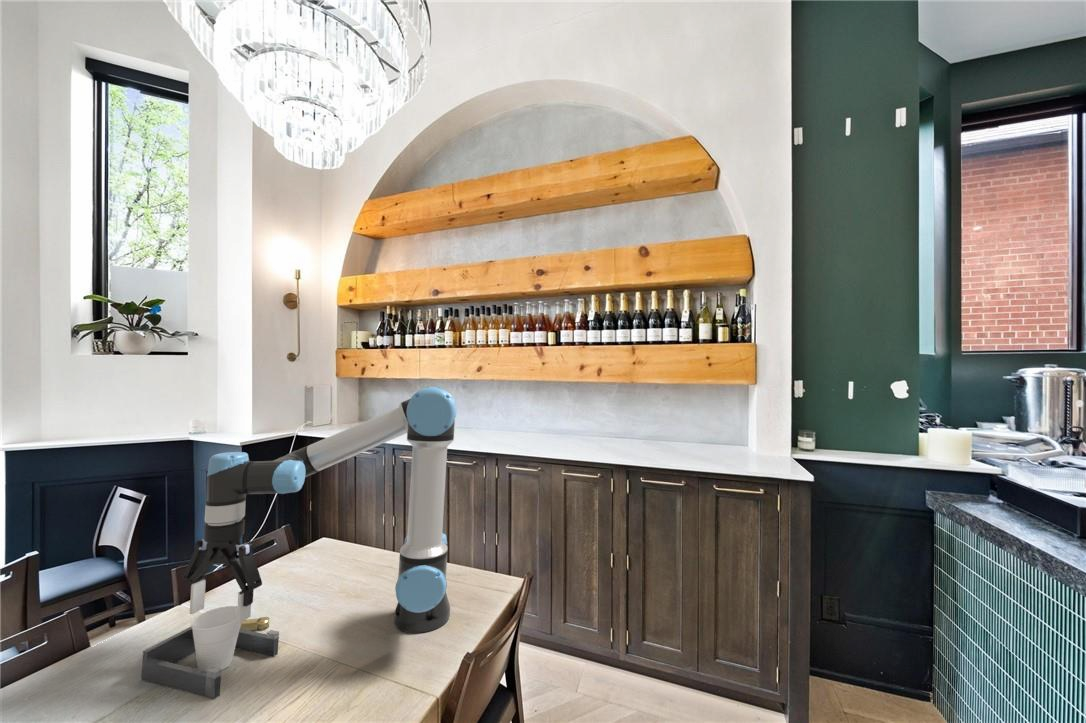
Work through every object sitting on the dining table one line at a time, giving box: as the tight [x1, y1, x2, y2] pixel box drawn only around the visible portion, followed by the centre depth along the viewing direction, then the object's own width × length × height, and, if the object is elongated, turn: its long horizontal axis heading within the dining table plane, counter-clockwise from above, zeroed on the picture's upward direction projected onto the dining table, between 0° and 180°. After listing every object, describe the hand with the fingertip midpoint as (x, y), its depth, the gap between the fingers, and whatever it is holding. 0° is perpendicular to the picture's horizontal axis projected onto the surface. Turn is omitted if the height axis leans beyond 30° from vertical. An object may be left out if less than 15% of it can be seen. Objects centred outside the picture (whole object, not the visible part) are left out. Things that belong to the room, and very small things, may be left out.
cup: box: [190, 605, 241, 672], centre depth 97 cm, size 10×10×11 cm
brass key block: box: [240, 616, 270, 632], centre depth 112 cm, size 7×3×2 cm, turn 106°
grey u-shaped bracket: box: [140, 626, 280, 700], centre depth 97 cm, size 20×15×6 cm
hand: (219, 615), depth 98 cm, fingers open, 13 cm apart
